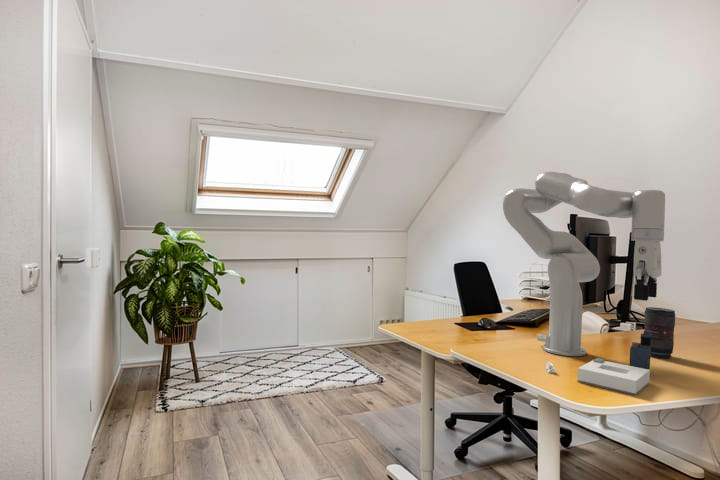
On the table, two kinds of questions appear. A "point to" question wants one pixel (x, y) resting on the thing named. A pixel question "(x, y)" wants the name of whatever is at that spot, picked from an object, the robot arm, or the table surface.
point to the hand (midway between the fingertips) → (645, 298)
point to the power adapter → (549, 368)
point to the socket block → (614, 376)
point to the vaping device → (641, 352)
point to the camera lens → (660, 331)
